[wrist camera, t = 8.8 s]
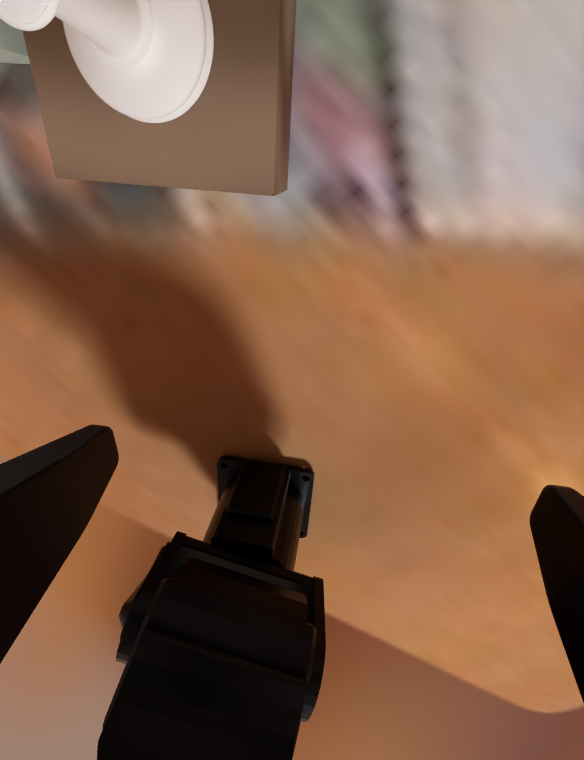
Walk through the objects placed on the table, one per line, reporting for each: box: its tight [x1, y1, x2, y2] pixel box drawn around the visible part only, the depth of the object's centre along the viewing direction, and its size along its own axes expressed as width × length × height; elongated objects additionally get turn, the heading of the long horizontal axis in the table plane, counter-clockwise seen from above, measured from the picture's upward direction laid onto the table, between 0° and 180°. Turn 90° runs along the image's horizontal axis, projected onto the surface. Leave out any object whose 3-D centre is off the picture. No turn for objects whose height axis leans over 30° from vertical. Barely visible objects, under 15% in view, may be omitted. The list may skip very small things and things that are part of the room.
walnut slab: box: [23, 0, 296, 196], centre depth 14 cm, size 9×9×3 cm
